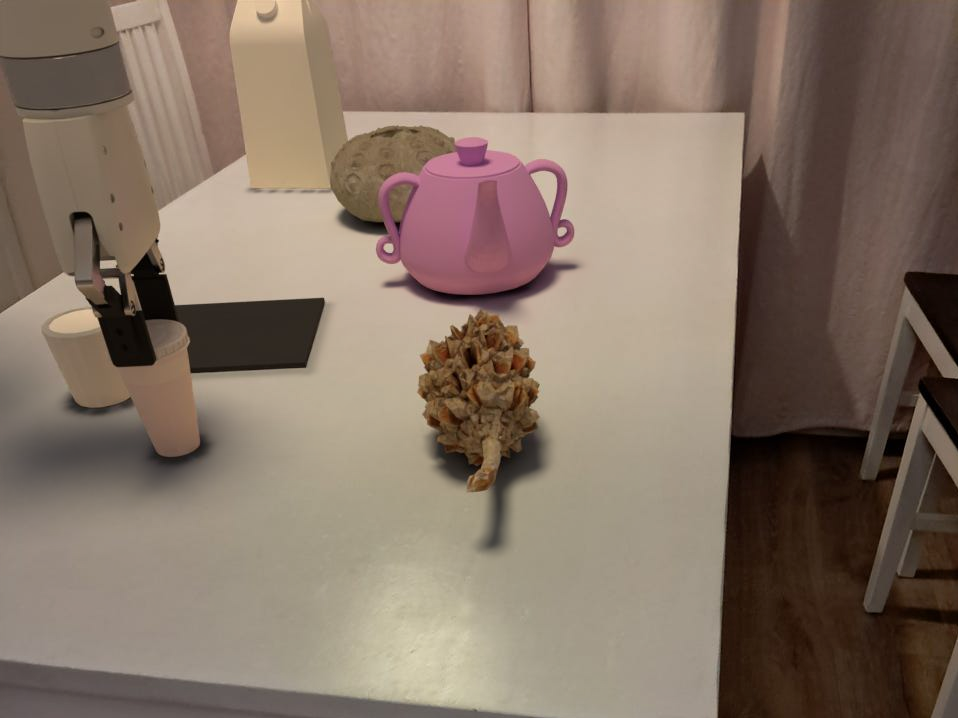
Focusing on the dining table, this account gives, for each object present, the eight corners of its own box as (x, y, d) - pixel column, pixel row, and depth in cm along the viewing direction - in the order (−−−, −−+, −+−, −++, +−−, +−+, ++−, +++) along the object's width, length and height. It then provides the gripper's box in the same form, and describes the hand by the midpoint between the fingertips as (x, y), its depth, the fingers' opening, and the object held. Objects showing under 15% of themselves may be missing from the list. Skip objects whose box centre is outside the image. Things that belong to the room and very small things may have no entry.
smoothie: (145, 472, 75) (88, 301, 65) (134, 438, 79) (79, 273, 70) (223, 453, 76) (179, 284, 67) (208, 420, 81) (164, 257, 72)
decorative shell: (324, 204, 126) (311, 122, 119) (448, 186, 130) (442, 105, 123) (351, 244, 113) (339, 155, 107) (488, 223, 117) (485, 136, 110)
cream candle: (147, 372, 89) (125, 300, 84) (139, 405, 84) (115, 331, 79) (73, 381, 88) (47, 309, 83) (62, 415, 83) (33, 340, 78)
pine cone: (417, 408, 81) (406, 296, 74) (526, 398, 81) (524, 285, 75) (435, 557, 64) (423, 429, 58) (571, 543, 65) (574, 414, 58)
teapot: (390, 334, 93) (373, 187, 84) (374, 259, 109) (359, 129, 100) (602, 310, 95) (609, 164, 86) (556, 240, 111) (557, 111, 102)
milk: (352, 165, 140) (325, -47, 123) (330, 188, 132) (297, -36, 114) (277, 165, 142) (240, -44, 125) (250, 187, 134) (207, -33, 116)
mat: (98, 377, 89) (97, 372, 88) (142, 311, 100) (141, 306, 100) (305, 367, 88) (304, 362, 88) (325, 301, 100) (324, 297, 100)
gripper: (56, 58, 67) (130, 303, 78) (-43, 115, 54) (64, 399, 66) (159, 52, 66) (218, 299, 78) (84, 108, 53) (168, 393, 65)
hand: (147, 342), depth 72 cm, fingers closed on smoothie, 6 cm apart
